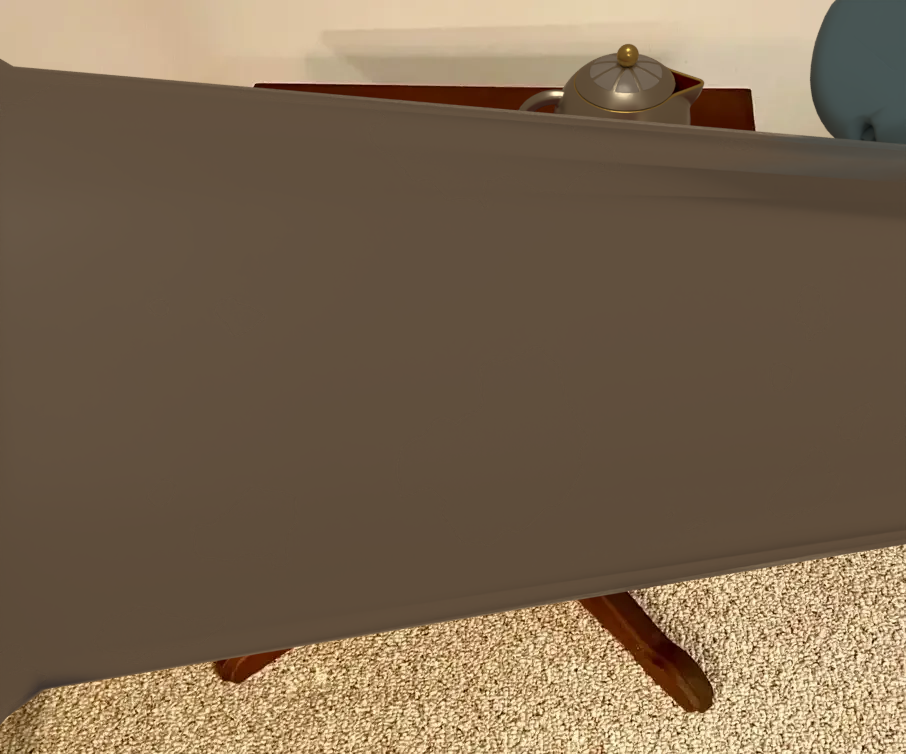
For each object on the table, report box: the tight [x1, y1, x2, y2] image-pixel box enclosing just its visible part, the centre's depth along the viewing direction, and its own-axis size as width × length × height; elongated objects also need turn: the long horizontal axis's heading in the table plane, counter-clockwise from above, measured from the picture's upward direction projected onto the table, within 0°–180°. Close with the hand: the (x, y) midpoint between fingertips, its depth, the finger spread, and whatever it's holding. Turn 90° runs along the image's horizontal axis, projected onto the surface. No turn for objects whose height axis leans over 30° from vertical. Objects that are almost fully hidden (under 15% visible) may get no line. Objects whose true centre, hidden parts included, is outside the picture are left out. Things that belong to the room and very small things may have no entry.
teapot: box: [518, 43, 705, 126], centre depth 87 cm, size 18×14×16 cm
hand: (600, 287), depth 64 cm, fingers closed on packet, 4 cm apart
